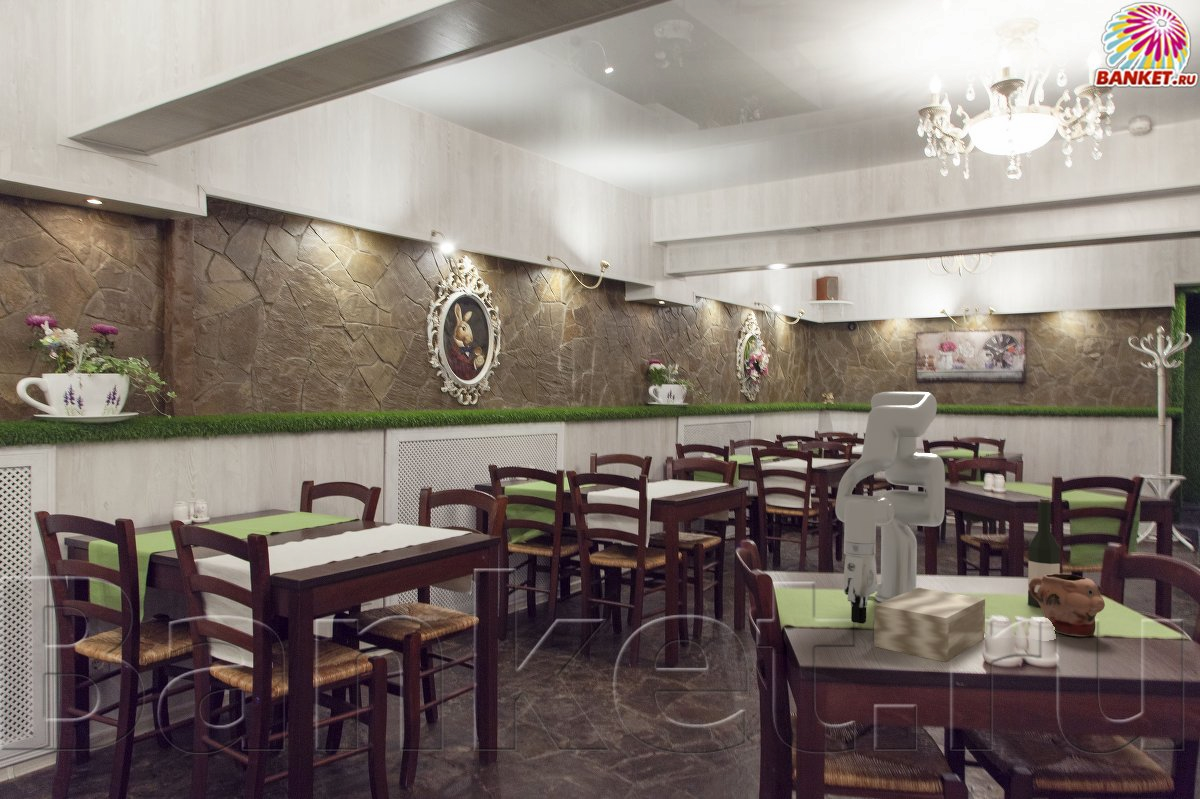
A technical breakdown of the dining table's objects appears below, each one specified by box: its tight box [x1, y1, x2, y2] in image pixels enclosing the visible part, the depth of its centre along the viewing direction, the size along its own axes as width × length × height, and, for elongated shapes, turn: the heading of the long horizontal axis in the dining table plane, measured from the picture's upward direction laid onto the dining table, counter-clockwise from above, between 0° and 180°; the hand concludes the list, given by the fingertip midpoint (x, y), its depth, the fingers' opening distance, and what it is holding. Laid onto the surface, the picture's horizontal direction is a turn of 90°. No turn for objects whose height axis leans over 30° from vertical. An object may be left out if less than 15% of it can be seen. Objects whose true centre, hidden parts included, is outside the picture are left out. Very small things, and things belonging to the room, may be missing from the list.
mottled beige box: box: [873, 587, 986, 663], centre depth 189 cm, size 16×26×10 cm, turn 137°
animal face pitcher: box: [1029, 573, 1106, 637], centre depth 201 cm, size 20×12×14 cm, turn 28°
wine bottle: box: [1027, 498, 1061, 609], centre depth 228 cm, size 8×8×30 cm
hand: (858, 622), depth 201 cm, fingers closed
